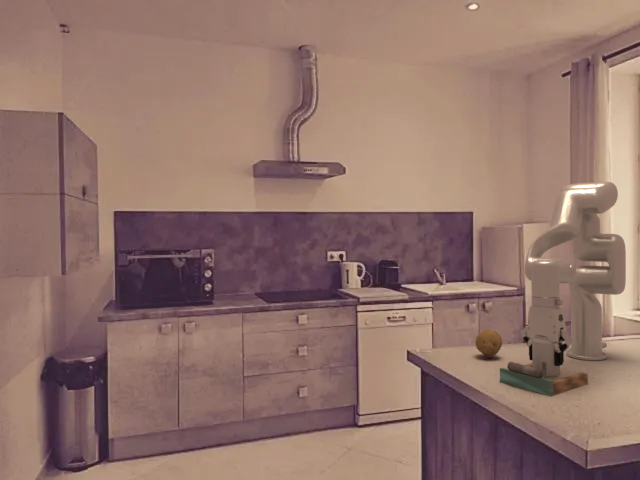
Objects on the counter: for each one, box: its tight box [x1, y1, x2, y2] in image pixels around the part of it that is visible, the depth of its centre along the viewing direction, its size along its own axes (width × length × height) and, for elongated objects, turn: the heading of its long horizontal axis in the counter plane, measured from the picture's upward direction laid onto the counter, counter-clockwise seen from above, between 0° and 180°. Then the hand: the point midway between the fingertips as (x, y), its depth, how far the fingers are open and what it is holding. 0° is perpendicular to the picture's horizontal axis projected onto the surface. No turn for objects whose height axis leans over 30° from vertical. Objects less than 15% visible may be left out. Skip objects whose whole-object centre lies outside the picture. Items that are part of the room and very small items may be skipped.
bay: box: [499, 361, 589, 397], centre depth 152 cm, size 19×16×9 cm
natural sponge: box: [475, 328, 503, 359], centre depth 182 cm, size 9×9×10 cm
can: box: [531, 335, 561, 379], centre depth 153 cm, size 8×8×12 cm
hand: (545, 362), depth 153 cm, fingers closed on can, 7 cm apart
